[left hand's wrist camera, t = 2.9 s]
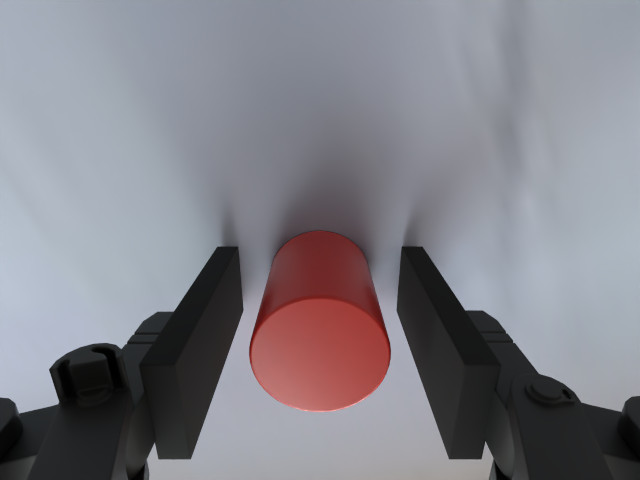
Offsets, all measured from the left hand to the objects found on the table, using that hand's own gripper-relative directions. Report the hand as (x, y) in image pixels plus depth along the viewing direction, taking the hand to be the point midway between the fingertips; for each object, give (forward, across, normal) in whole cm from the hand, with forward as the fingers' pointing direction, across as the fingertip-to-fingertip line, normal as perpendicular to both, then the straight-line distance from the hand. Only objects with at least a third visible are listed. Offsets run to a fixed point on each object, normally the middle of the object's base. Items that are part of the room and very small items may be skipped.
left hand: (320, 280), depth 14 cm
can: (0, 0, 0) cm, 0 cm away
